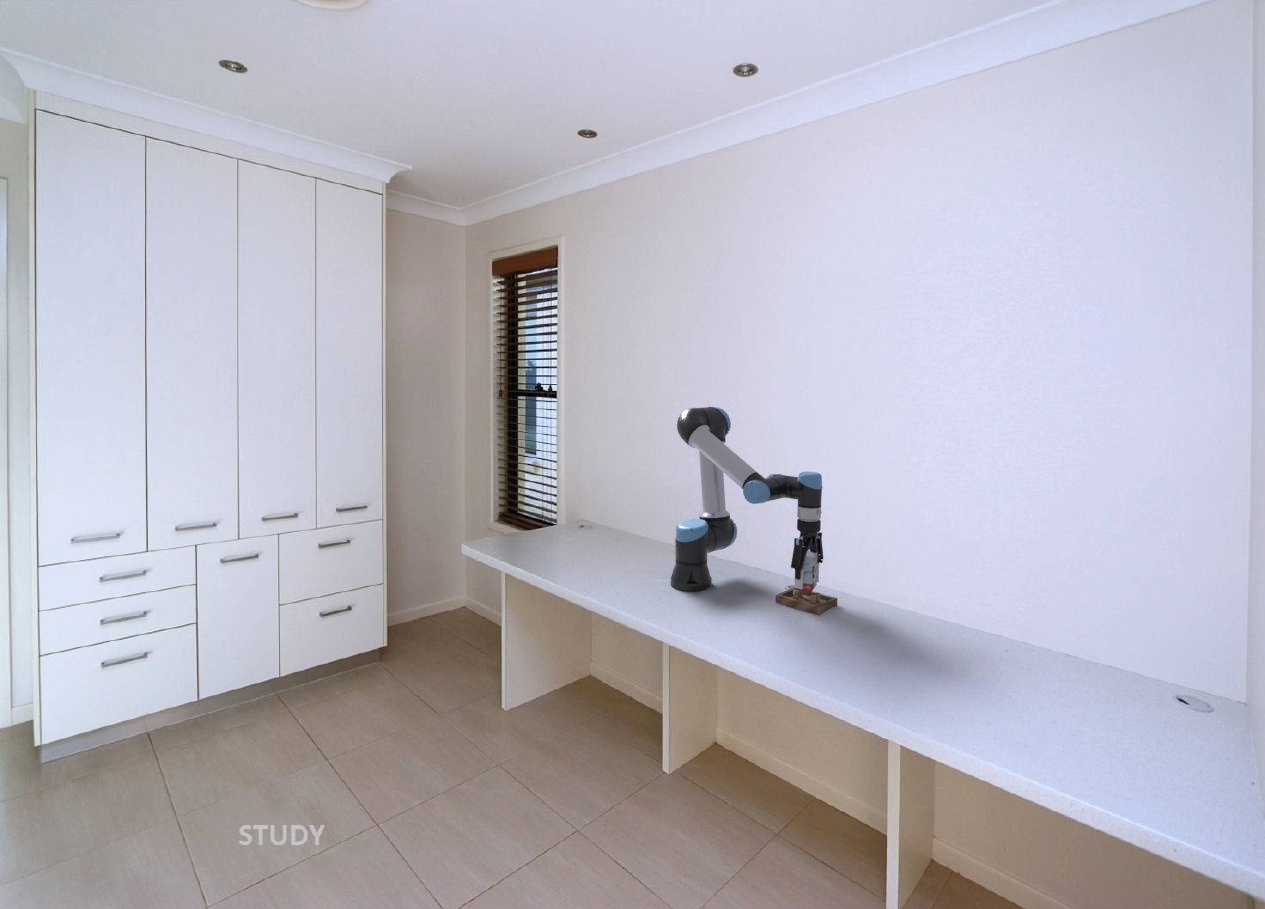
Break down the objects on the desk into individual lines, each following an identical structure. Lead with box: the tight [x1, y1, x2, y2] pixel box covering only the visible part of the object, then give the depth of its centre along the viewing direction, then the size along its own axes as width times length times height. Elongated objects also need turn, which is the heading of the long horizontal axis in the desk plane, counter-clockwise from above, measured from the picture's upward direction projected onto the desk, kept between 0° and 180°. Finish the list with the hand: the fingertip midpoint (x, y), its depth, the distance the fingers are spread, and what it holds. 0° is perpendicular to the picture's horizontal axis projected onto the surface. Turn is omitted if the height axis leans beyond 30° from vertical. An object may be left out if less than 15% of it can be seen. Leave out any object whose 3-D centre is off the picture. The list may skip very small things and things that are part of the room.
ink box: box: [797, 550, 818, 592], centre depth 206 cm, size 9×5×12 cm, turn 152°
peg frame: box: [775, 586, 838, 616], centre depth 207 cm, size 16×12×4 cm
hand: (806, 584), depth 207 cm, fingers closed on ink box, 9 cm apart
